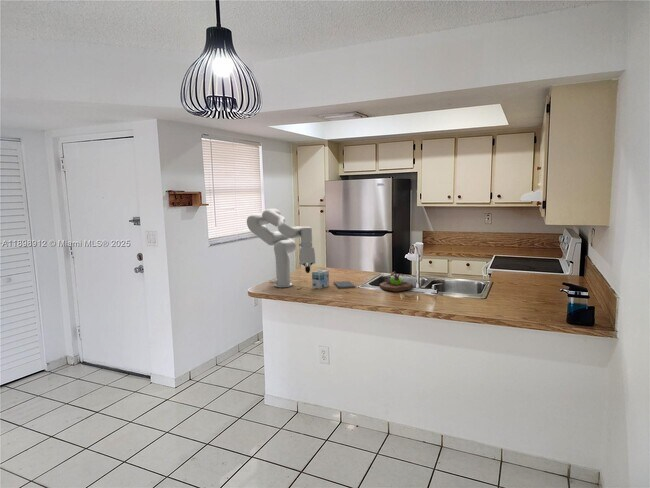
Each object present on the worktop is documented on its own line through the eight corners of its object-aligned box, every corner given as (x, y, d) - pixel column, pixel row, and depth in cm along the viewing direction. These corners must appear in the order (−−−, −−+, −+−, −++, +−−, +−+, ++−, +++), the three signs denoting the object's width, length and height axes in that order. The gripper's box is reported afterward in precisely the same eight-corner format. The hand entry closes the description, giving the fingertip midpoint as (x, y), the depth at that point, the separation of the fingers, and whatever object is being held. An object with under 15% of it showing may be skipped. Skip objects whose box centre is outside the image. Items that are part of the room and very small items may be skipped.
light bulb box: (319, 289, 266) (319, 272, 265) (311, 287, 270) (311, 271, 269) (329, 286, 275) (329, 270, 274) (321, 284, 279) (321, 269, 278)
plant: (374, 287, 269) (374, 270, 268) (394, 283, 280) (394, 267, 279) (396, 292, 253) (396, 275, 252) (417, 288, 264) (417, 271, 263)
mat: (338, 288, 266) (338, 286, 265) (333, 283, 281) (333, 281, 281) (355, 287, 268) (355, 285, 268) (349, 282, 283) (349, 280, 283)
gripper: (296, 246, 263) (297, 274, 264) (318, 245, 265) (319, 272, 267) (294, 245, 270) (296, 272, 272) (316, 244, 273) (317, 271, 275)
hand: (307, 272), depth 269 cm, fingers closed
